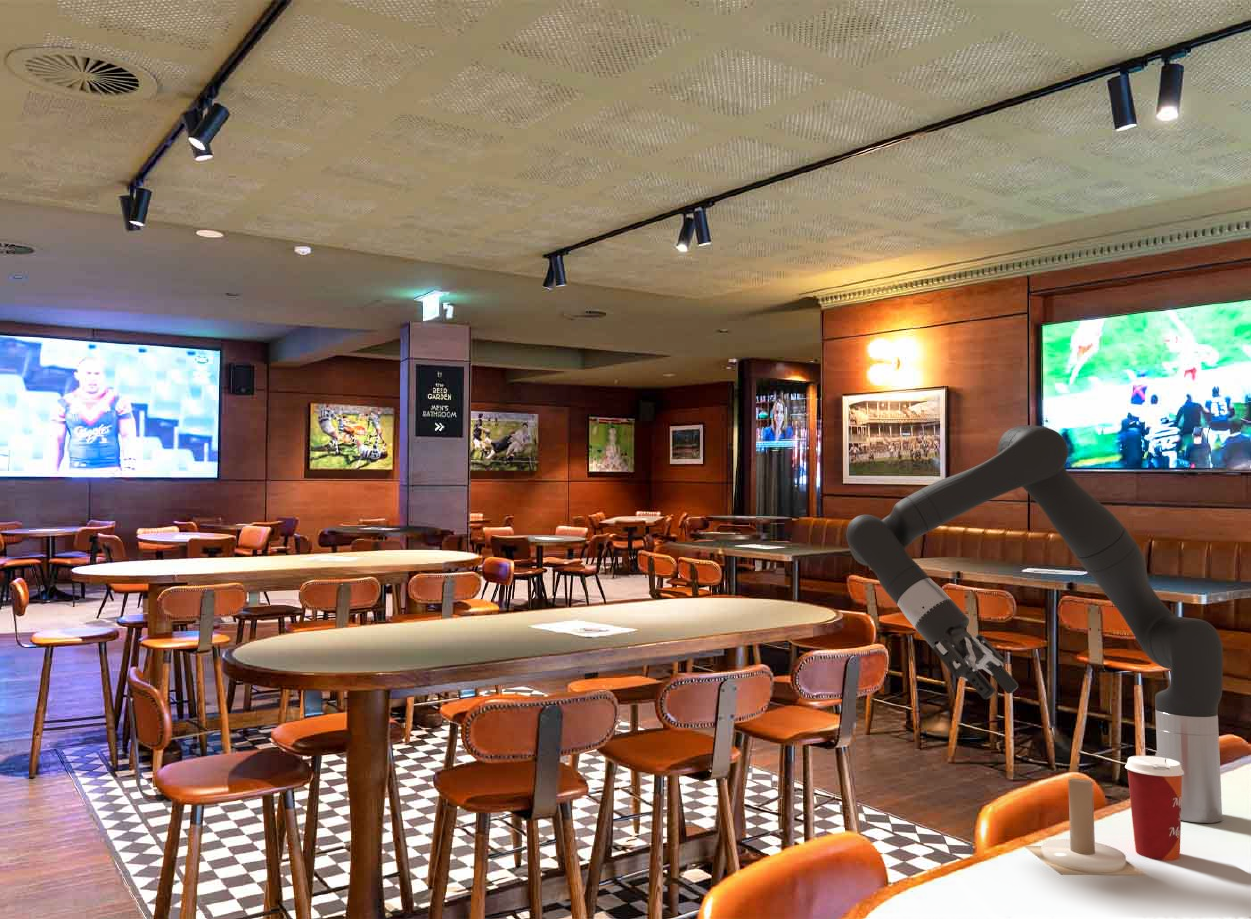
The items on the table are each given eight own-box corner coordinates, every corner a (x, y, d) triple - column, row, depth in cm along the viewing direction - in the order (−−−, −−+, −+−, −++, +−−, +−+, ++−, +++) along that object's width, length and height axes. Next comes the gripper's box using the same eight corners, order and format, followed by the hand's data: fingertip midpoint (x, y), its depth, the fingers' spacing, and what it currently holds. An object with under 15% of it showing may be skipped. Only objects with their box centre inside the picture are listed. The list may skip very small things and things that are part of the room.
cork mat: (1023, 850, 143) (1023, 846, 143) (1103, 850, 143) (1103, 846, 143) (1060, 878, 131) (1060, 874, 131) (1147, 879, 131) (1147, 874, 131)
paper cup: (1196, 869, 135) (1192, 768, 136) (1137, 865, 137) (1134, 765, 138) (1176, 851, 143) (1172, 755, 144) (1120, 847, 144) (1117, 753, 145)
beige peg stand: (1028, 847, 142) (1026, 771, 143) (1101, 847, 142) (1099, 772, 143) (1062, 873, 131) (1060, 791, 132) (1142, 873, 131) (1139, 791, 132)
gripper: (926, 598, 149) (1000, 682, 140) (967, 596, 159) (1038, 673, 150) (896, 630, 152) (965, 713, 143) (937, 625, 162) (1005, 703, 153)
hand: (1002, 693), depth 147 cm, fingers open, 8 cm apart
